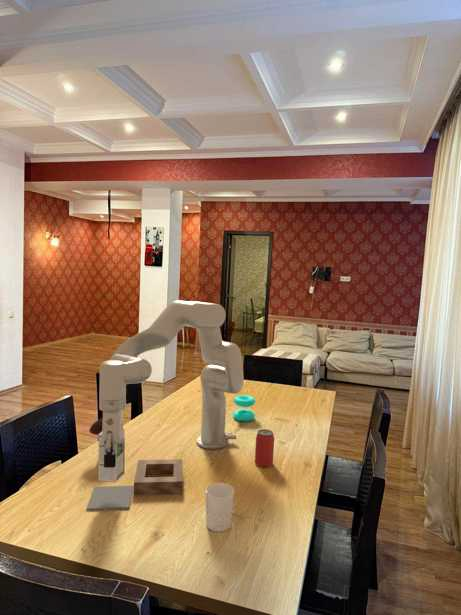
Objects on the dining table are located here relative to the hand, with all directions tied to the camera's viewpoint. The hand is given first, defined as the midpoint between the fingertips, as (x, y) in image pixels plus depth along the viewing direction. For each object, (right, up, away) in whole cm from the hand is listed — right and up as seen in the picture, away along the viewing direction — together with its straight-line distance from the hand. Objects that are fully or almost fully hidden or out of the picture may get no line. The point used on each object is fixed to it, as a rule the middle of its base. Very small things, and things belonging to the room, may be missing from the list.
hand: (111, 460), depth 128 cm
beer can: (+47, -11, +28) cm, 56 cm away
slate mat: (-1, -12, +1) cm, 12 cm away
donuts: (+42, -7, +73) cm, 84 cm away
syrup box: (0, -5, 0) cm, 5 cm away
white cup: (+32, -15, -10) cm, 37 cm away
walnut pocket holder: (+12, -11, +12) cm, 20 cm away
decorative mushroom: (-10, -9, +27) cm, 30 cm away
